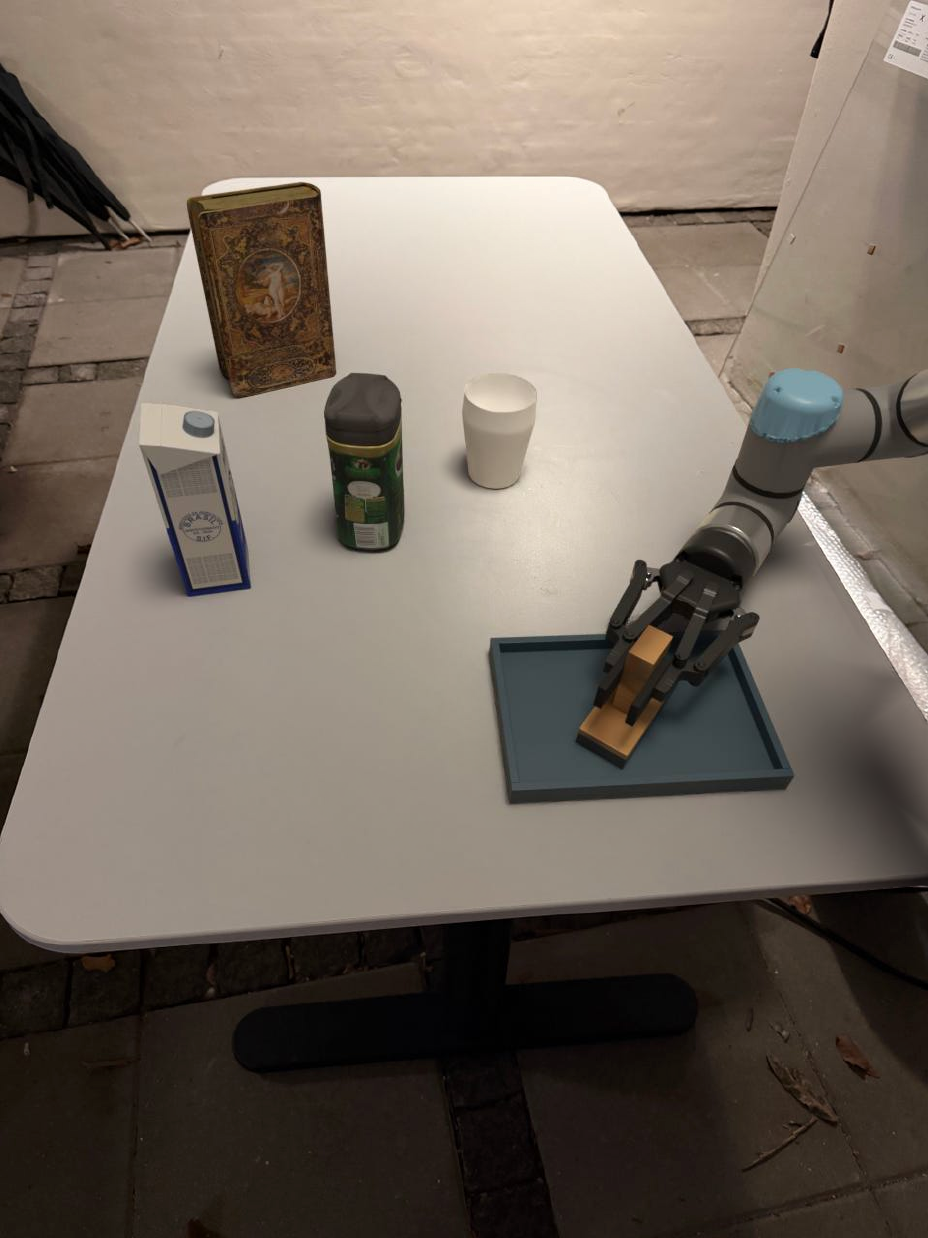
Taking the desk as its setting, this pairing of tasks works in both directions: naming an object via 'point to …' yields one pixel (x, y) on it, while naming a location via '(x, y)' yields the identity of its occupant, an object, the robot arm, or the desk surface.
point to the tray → (670, 750)
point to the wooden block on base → (627, 703)
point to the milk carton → (195, 496)
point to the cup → (497, 427)
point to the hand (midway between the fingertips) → (615, 706)
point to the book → (266, 285)
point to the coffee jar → (366, 460)
